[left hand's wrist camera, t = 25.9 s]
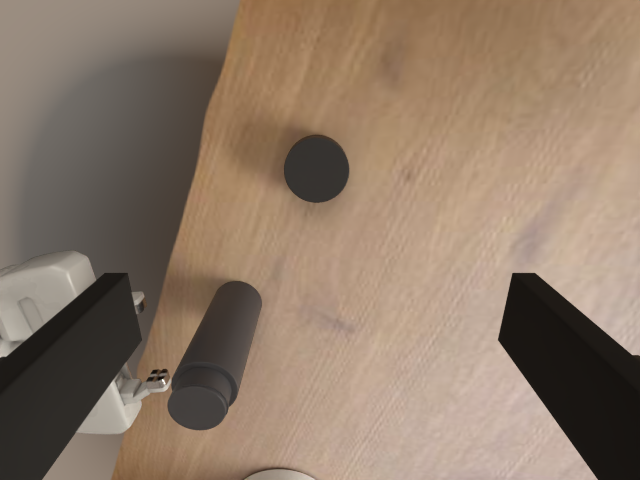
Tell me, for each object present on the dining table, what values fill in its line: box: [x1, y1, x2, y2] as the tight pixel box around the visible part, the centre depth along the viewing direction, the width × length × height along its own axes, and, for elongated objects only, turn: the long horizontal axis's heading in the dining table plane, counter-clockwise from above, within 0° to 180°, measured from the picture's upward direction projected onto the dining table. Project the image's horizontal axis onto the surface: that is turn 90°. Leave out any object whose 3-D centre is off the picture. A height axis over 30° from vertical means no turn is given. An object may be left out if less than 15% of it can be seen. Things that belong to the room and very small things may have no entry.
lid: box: [284, 135, 349, 203], centre depth 36 cm, size 6×6×2 cm
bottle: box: [168, 281, 262, 430], centre depth 36 cm, size 6×6×16 cm
